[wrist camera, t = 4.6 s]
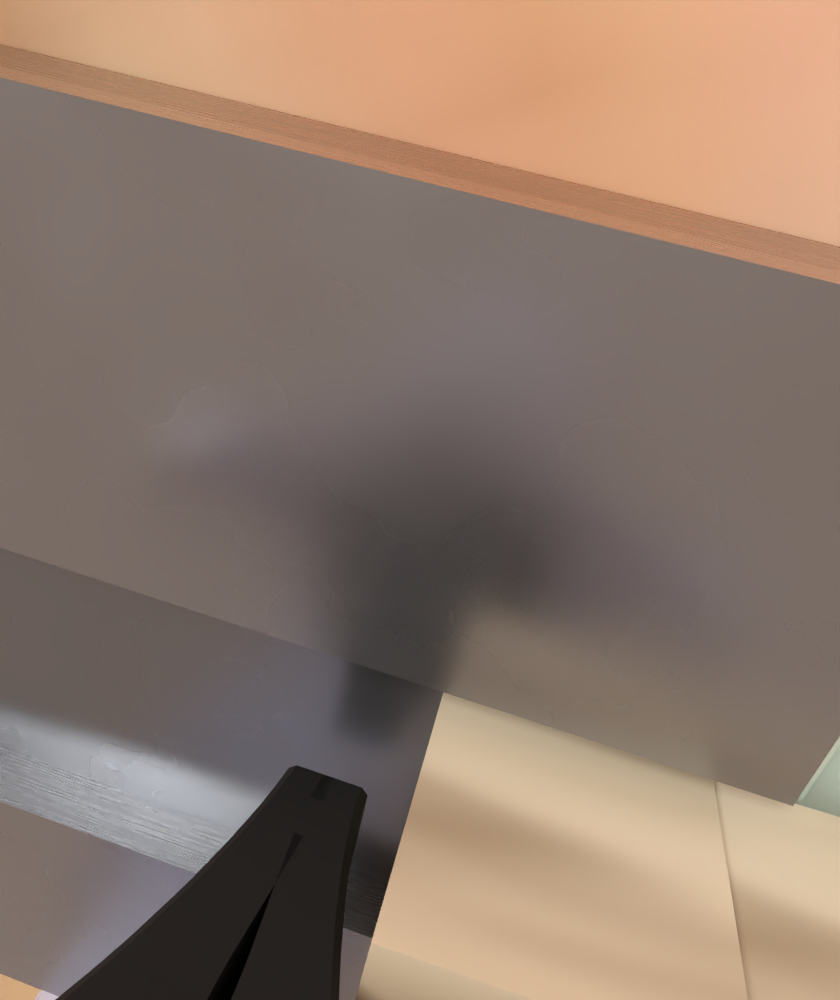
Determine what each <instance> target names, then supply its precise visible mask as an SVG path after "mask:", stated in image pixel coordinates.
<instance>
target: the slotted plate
mask: <svg viewBox="0 0 840 1000" xmlns="http://www.w3.org/2000/svg"><path fill="white" fill-rule="evenodd" d="M443 692H444V693H447V694H450V695H453V696H457V697H460V698H463V699H466V700H469V701H472V702H475V703H478V704H481V705H484V706H487V707H490V708H493V709H496V710H499V711H503V712H506V713H509V714H512V715H515V716H518V717H521V718H524V719H527V720H530V721H533V722H536V723H539V724H542V725H545V726H549V727H552V728H555V729H558V730H561V731H564V732H567V733H570V734H573V735H576V736H579V737H582V738H585V739H588V740H591V741H595V742H598V743H601V744H604V745H607V746H610V747H613V748H616V749H619V750H622V751H625V752H628V753H631V754H634V755H637V756H641V757H644V758H647V759H650V760H653V761H656V762H659V763H662V764H665V765H668V766H671V767H674V768H677V769H680V770H683V771H687V772H690V773H693V774H696V775H699V776H702V777H705V778H708V779H711V780H714V781H717V782H720V783H723V784H726V785H729V786H733V787H736V788H739V789H742V790H745V791H748V792H751V793H754V794H757V795H760V796H763V797H766V798H769V799H772V800H775V801H779V802H782V803H785V804H788V805H791V806H793V805H794V804H795V802H796V801H797V799H798V798H799V796H800V795H801V793H802V792H803V790H804V789H805V787H806V786H807V784H808V783H809V781H810V780H811V778H812V777H813V775H814V774H815V772H816V771H817V769H818V768H819V766H820V765H821V763H822V762H823V760H824V759H825V758H826V756H827V755H828V753H829V752H830V750H831V749H832V747H833V746H834V744H835V743H836V741H837V740H838V738H839V737H840V247H837V246H833V245H829V244H825V243H821V242H817V241H812V240H808V239H804V238H800V237H796V236H792V235H788V234H783V233H779V232H775V231H771V230H767V229H763V228H759V227H754V226H750V225H746V224H742V223H738V222H734V221H730V220H725V219H721V218H717V217H713V216H709V215H705V214H701V213H696V212H692V211H688V210H684V209H680V208H676V207H672V206H667V205H663V204H659V203H655V202H651V201H647V200H643V199H638V198H634V197H630V196H626V195H622V194H618V193H614V192H609V191H605V190H601V189H597V188H593V187H589V186H585V185H580V184H576V183H572V182H568V181H564V180H560V179H556V178H551V177H547V176H543V175H539V174H535V173H531V172H527V171H522V170H518V169H514V168H510V167H506V166H502V165H498V164H493V163H489V162H485V161H481V160H477V159H473V158H469V157H464V156H460V155H456V154H452V153H448V152H444V151H439V150H435V149H431V148H427V147H423V146H419V145H415V144H410V143H406V142H402V141H398V140H394V139H390V138H386V137H381V136H377V135H373V134H369V133H365V132H361V131H357V130H352V129H348V128H344V127H340V126H336V125H332V124H328V123H323V122H319V121H315V120H311V119H307V118H303V117H299V116H294V115H290V114H286V113H282V112H278V111H274V110H270V109H265V108H261V107H257V106H253V105H249V104H245V103H241V102H236V101H232V100H228V99H224V98H220V97H216V96H212V95H207V94H203V93H199V92H195V91H191V90H187V89H183V88H178V87H174V86H170V85H166V84H162V83H158V82H154V81H149V80H145V79H141V78H137V77H133V76H129V75H125V74H120V73H116V72H112V71H108V70H104V69H100V68H96V67H91V66H87V65H83V64H79V63H75V62H71V61H67V60H62V59H58V58H54V57H50V56H46V55H42V54H38V53H33V52H29V51H25V50H21V49H17V48H13V47H8V46H4V45H0V973H1V974H3V975H6V976H8V977H11V978H13V979H16V980H18V981H21V982H23V983H26V984H28V985H31V986H33V987H36V988H38V989H41V990H43V991H46V992H48V993H51V994H53V995H56V996H58V997H59V996H60V995H62V994H63V993H64V992H65V991H67V990H68V989H69V988H70V987H71V986H73V985H74V984H75V983H76V982H77V981H79V980H80V979H81V978H82V977H84V976H85V975H86V974H87V973H88V972H90V971H91V970H92V969H93V968H94V967H96V966H97V965H98V964H99V963H100V962H101V961H103V960H104V959H105V958H106V957H107V956H108V955H110V954H111V953H112V952H113V951H114V950H115V949H116V948H118V947H119V946H120V945H121V944H122V943H123V942H124V941H126V940H127V939H128V938H129V937H130V936H131V935H132V934H133V933H134V932H136V931H137V930H138V929H139V928H140V927H141V926H142V925H143V924H144V923H145V922H146V921H147V920H148V919H149V918H151V917H152V916H153V915H154V914H155V913H156V912H157V911H158V910H159V909H160V908H161V907H162V906H163V905H164V904H166V903H167V902H168V901H169V900H170V899H171V898H172V897H173V896H174V895H175V894H176V893H177V892H178V891H179V890H180V889H181V888H182V887H184V886H185V885H186V884H187V883H188V882H189V881H190V880H191V879H192V878H193V877H194V875H195V874H196V873H197V872H198V871H199V870H200V869H201V868H202V867H203V866H204V865H205V864H206V863H207V862H208V861H209V860H210V859H211V858H212V857H213V856H214V855H215V854H216V853H217V852H218V851H219V850H220V849H221V848H222V847H223V846H224V844H225V843H226V842H227V841H228V840H229V839H230V838H231V837H232V836H233V835H234V834H235V833H236V831H237V830H238V829H239V828H240V827H241V826H242V825H243V824H244V823H245V821H246V820H247V819H248V818H249V817H250V816H251V815H252V814H253V812H254V811H255V810H256V809H257V808H258V807H259V805H260V804H261V803H262V802H263V801H264V799H265V798H266V797H267V796H268V794H269V793H270V792H271V791H272V789H273V788H274V787H275V786H276V784H277V783H278V782H279V780H280V779H281V778H282V776H283V775H284V774H285V772H286V771H287V769H288V768H290V767H293V766H296V765H298V766H301V767H304V768H307V769H310V770H312V771H315V772H318V773H321V774H324V775H327V776H330V777H333V778H336V779H339V780H341V781H344V782H347V783H350V784H353V785H356V786H359V787H362V788H363V790H364V791H365V792H366V794H367V795H368V796H367V800H366V805H365V809H364V813H363V817H362V821H361V825H360V829H359V833H358V838H357V842H356V846H355V850H354V854H353V858H352V862H351V866H350V870H349V876H348V883H347V892H346V901H345V911H344V924H343V936H342V948H341V965H340V987H339V1000H355V998H356V995H357V991H358V988H359V984H360V981H361V977H362V973H363V970H364V966H365V963H366V959H367V956H368V952H369V948H370V945H371V941H372V938H373V934H374V931H375V927H376V924H377V921H378V917H379V914H380V910H381V907H382V903H383V900H384V896H385V893H386V889H387V886H388V882H389V879H390V875H391V872H392V869H393V865H394V862H395V858H396V855H397V851H398V848H399V844H400V841H401V837H402V834H403V830H404V827H405V824H406V820H407V817H408V813H409V810H410V806H411V803H412V799H413V796H414V792H415V789H416V785H417V782H418V778H419V775H420V772H421V768H422V765H423V761H424V758H425V754H426V751H427V747H428V744H429V740H430V737H431V733H432V730H433V727H434V723H435V720H436V716H437V713H438V709H439V706H440V702H441V699H442V695H443Z"/></svg>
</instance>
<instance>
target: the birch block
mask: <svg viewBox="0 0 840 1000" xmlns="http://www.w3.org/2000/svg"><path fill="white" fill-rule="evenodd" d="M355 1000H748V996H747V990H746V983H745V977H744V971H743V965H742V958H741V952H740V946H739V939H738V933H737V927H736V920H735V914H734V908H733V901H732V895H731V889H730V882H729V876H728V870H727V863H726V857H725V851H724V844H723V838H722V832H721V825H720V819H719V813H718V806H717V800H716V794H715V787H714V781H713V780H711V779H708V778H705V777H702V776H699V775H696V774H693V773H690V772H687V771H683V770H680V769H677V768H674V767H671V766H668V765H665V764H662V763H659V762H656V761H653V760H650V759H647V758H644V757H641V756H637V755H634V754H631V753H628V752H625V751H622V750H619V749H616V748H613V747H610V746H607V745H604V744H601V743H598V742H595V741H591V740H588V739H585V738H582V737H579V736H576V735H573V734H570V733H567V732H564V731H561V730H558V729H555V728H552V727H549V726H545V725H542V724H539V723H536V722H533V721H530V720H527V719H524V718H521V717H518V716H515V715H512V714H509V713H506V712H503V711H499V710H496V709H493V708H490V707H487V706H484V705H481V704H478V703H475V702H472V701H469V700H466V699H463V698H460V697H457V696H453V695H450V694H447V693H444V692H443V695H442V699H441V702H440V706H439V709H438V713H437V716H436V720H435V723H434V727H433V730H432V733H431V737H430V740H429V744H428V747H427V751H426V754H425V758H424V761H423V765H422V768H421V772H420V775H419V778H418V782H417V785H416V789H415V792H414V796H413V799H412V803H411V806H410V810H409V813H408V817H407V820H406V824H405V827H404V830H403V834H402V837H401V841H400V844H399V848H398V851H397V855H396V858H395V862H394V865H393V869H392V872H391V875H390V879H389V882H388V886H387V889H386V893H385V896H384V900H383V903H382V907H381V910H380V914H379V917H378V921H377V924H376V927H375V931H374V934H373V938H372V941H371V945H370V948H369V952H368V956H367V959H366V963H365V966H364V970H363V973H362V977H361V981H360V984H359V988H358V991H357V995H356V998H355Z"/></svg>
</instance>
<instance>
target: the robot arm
mask: <svg viewBox="0 0 840 1000" xmlns="http://www.w3.org/2000/svg"><path fill="white" fill-rule="evenodd" d="M367 796H368V795H367V794H366V792H365V791H364V790H363V788H362V787H359V786H356V785H353V784H350V783H347V782H344V781H341V780H339V779H336V778H333V777H330V776H327V775H324V774H321V773H318V772H315V771H312V770H310V769H307V768H304V767H301V766H298V765H296V766H293V767H290V768H288V769H287V771H286V772H285V774H284V775H283V776H282V778H281V779H280V780H279V782H278V783H277V784H276V786H275V787H274V788H273V789H272V791H271V792H270V793H269V794H268V796H267V797H266V798H265V799H264V801H263V802H262V803H261V804H260V805H259V807H258V808H257V809H256V810H255V811H254V812H253V814H252V815H251V816H250V817H249V818H248V819H247V820H246V821H245V823H244V824H243V825H242V826H241V827H240V828H239V829H238V830H237V831H236V833H235V834H234V835H233V836H232V837H231V838H230V839H229V840H228V841H227V842H226V843H225V844H224V846H223V847H222V848H221V849H220V850H219V851H218V852H217V853H216V854H215V855H214V856H213V857H212V858H211V859H210V860H209V861H208V862H207V863H206V864H205V865H204V866H203V867H202V868H201V869H200V870H199V871H198V872H197V873H196V874H195V875H194V877H193V878H192V879H191V880H190V881H189V882H188V883H187V884H186V885H185V886H184V887H182V888H181V889H180V890H179V891H178V892H177V893H176V894H175V895H174V896H173V897H172V898H171V899H170V900H169V901H168V902H167V903H166V904H164V905H163V906H162V907H161V908H160V909H159V910H158V911H157V912H156V913H155V914H154V915H153V916H152V917H151V918H149V919H148V920H147V921H146V922H145V923H144V924H143V925H142V926H141V927H140V928H139V929H138V930H137V931H136V932H134V933H133V934H132V935H131V936H130V937H129V938H128V939H127V940H126V941H124V942H123V943H122V944H121V945H120V946H119V947H118V948H116V949H115V950H114V951H113V952H112V953H111V954H110V955H108V956H107V957H106V958H105V959H104V960H103V961H101V962H100V963H99V964H98V965H97V966H96V967H94V968H93V969H92V970H91V971H90V972H88V973H87V974H86V975H85V976H84V977H82V978H81V979H80V980H79V981H77V982H76V983H75V984H74V985H73V986H71V987H70V988H69V989H68V990H67V991H65V992H64V993H63V994H62V995H60V996H59V997H58V996H56V995H53V994H51V993H48V992H46V991H43V990H40V992H39V993H38V995H37V996H36V998H35V999H34V1000H339V987H340V965H341V948H342V936H343V924H344V911H345V901H346V892H347V883H348V876H349V870H350V866H351V862H352V858H353V854H354V850H355V846H356V842H357V838H358V833H359V829H360V825H361V821H362V817H363V813H364V809H365V805H366V800H367Z"/></svg>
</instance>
